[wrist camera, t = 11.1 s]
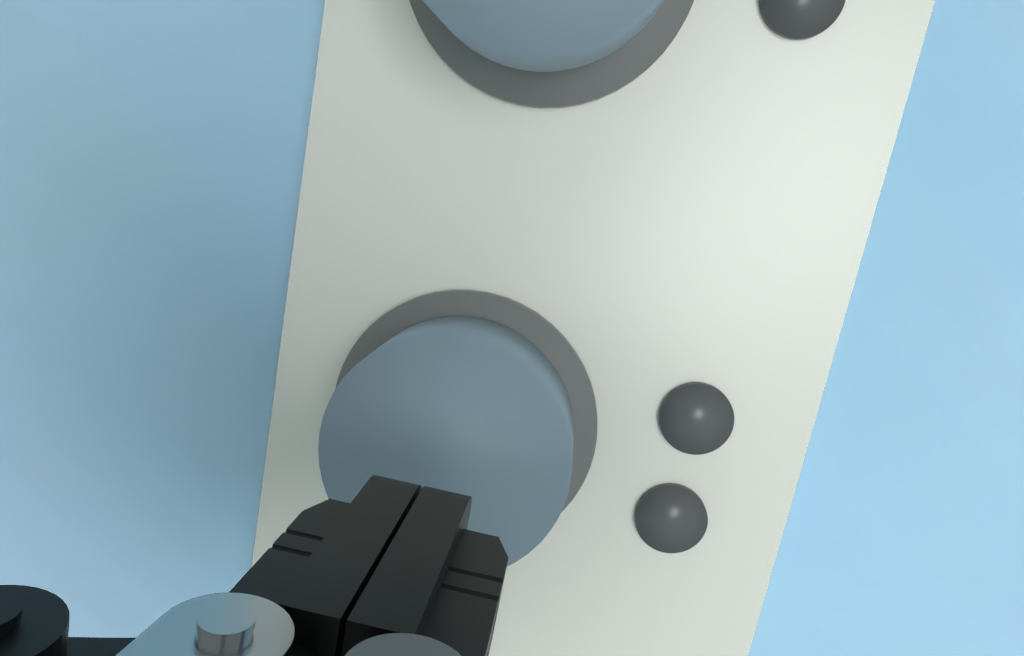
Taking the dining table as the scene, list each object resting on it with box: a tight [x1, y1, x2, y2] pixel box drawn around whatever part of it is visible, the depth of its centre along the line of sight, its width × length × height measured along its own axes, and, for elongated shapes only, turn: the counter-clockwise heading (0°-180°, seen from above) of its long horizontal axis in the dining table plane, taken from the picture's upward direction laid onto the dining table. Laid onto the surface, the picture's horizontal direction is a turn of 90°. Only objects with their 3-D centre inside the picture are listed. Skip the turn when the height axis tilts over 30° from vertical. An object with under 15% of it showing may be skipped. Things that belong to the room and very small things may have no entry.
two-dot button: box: [318, 316, 574, 566], centre depth 16 cm, size 5×5×2 cm
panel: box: [251, 0, 935, 656], centre depth 18 cm, size 12×30×3 cm, turn 169°
